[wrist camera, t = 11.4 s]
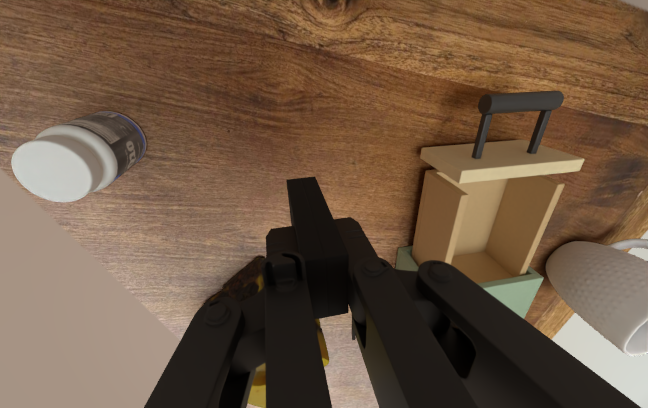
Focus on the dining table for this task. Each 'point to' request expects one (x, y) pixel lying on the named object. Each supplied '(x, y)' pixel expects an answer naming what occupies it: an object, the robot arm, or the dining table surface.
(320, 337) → the candle
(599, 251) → the mug
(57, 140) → the pill bottle
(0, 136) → the dining table surface
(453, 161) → the drawer
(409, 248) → the cabinet
